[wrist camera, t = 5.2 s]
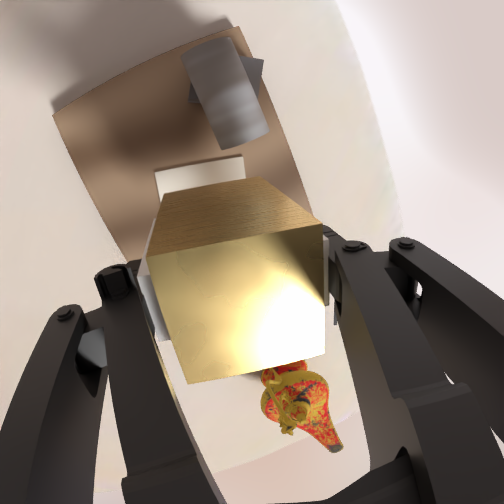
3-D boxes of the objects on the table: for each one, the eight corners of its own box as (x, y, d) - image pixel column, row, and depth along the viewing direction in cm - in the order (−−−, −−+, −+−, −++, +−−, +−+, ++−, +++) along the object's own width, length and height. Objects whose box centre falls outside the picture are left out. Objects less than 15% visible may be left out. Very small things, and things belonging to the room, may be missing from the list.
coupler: (183, 279, 17) (187, 384, 10) (163, 193, 15) (145, 257, 8) (269, 262, 18) (323, 353, 11) (259, 176, 16) (322, 223, 9)
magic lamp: (297, 425, 36) (326, 493, 26) (217, 350, 28) (239, 449, 18) (343, 398, 36) (381, 463, 26) (280, 312, 28) (328, 402, 18)
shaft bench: (58, 115, 18) (20, 115, 12) (235, 30, 18) (254, 1, 13) (188, 344, 27) (192, 392, 22) (329, 279, 28) (361, 315, 22)
